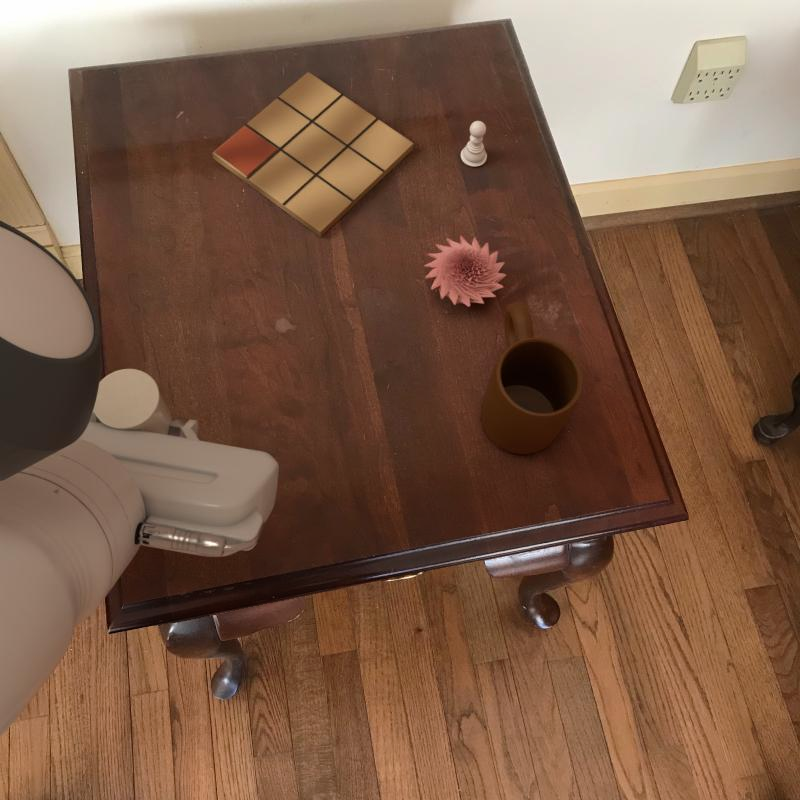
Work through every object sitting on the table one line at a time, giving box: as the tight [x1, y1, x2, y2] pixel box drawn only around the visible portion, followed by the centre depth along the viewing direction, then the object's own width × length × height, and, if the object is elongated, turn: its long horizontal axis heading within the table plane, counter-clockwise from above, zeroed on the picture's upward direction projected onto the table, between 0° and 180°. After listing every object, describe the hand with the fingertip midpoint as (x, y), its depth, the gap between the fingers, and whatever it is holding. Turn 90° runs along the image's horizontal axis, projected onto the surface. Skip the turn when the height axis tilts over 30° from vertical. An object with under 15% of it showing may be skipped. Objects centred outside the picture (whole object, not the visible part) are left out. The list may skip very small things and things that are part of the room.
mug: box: [480, 301, 584, 455], centre depth 74 cm, size 12×8×9 cm, turn 10°
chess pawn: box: [460, 120, 488, 168], centre depth 87 cm, size 3×3×5 cm
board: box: [211, 71, 414, 238], centre depth 88 cm, size 15×15×1 cm
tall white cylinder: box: [93, 368, 175, 435], centre depth 56 cm, size 4×4×12 cm
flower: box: [423, 235, 507, 308], centre depth 80 cm, size 8×8×6 cm
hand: (147, 421), depth 56 cm, fingers closed on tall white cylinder, 4 cm apart
